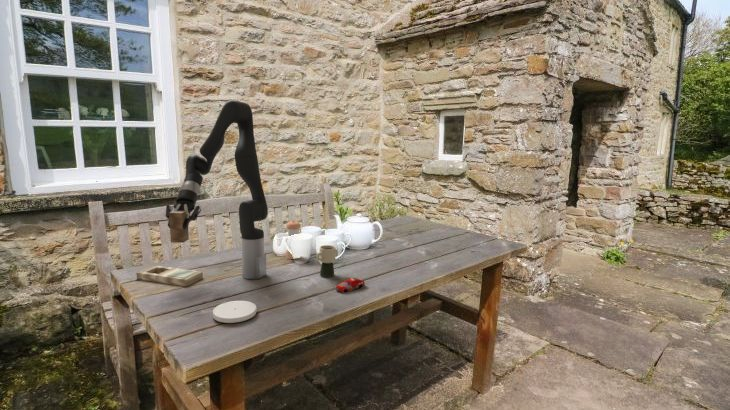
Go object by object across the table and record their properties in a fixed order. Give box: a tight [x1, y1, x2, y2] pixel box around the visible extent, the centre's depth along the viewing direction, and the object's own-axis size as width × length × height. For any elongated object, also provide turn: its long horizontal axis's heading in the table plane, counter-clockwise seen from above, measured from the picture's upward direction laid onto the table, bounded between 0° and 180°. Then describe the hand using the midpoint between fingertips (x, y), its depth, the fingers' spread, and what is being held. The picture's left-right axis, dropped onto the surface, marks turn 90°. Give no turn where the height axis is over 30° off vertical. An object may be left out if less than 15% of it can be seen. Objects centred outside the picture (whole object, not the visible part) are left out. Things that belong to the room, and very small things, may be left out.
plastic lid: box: [212, 300, 257, 324], centre depth 133 cm, size 14×14×2 cm
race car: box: [335, 277, 366, 294], centre depth 160 cm, size 13×5×4 cm, turn 130°
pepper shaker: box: [285, 219, 301, 260], centre depth 197 cm, size 7×7×19 cm
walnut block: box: [168, 210, 190, 244], centre depth 158 cm, size 5×5×12 cm
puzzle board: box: [135, 265, 204, 287], centre depth 164 cm, size 24×10×3 cm, turn 75°
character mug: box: [316, 244, 339, 277], centre depth 173 cm, size 11×7×13 cm, turn 131°
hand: (177, 227), depth 157 cm, fingers closed on walnut block, 5 cm apart
